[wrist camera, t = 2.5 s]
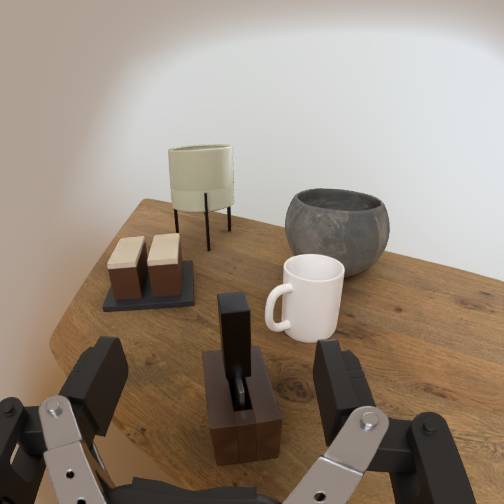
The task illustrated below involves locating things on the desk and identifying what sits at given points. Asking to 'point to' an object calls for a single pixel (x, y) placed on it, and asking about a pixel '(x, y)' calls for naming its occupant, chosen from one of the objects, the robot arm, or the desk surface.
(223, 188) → the planter
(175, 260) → the cake
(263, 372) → the knife block
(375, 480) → the desk surface
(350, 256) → the bowl
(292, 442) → the desk surface
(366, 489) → the desk surface
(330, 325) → the cup
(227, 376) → the knife
